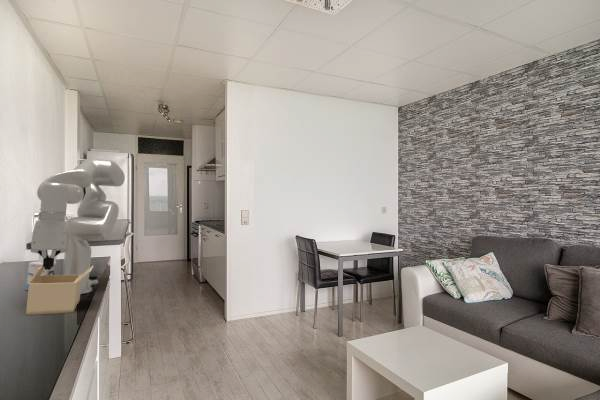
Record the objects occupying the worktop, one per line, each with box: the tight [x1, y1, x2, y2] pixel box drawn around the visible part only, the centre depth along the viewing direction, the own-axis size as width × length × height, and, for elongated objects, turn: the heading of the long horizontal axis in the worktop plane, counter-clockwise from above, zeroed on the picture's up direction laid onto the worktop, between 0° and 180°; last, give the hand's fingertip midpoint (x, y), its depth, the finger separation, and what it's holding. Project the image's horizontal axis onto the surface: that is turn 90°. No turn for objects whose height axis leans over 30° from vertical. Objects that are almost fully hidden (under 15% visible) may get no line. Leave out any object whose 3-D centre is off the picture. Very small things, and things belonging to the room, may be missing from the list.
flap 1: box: [29, 265, 45, 283], centre depth 118 cm, size 5×14×1 cm
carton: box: [25, 274, 82, 316], centre depth 120 cm, size 16×13×10 cm
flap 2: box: [77, 265, 95, 283], centre depth 124 cm, size 5×14×1 cm
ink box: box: [25, 254, 58, 290], centre depth 141 cm, size 9×5×15 cm, turn 84°
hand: (47, 268), depth 119 cm, fingers closed
